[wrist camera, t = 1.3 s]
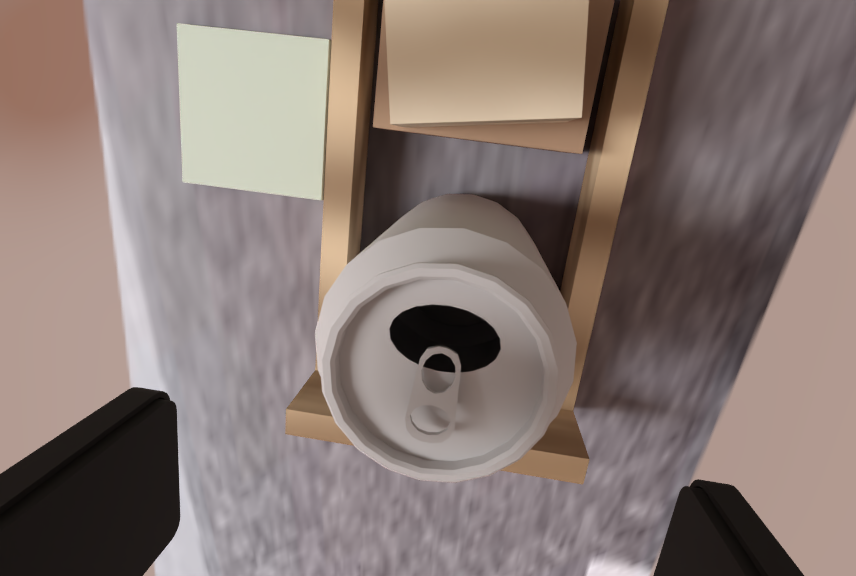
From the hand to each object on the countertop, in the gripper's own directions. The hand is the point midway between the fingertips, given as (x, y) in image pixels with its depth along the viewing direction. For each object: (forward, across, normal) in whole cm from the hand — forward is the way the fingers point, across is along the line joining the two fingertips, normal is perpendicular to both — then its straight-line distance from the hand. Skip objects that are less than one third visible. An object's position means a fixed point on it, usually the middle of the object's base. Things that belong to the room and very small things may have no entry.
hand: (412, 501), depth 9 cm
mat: (+15, +10, -7) cm, 20 cm away
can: (+16, 0, -1) cm, 16 cm away
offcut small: (+12, 0, -10) cm, 15 cm away
